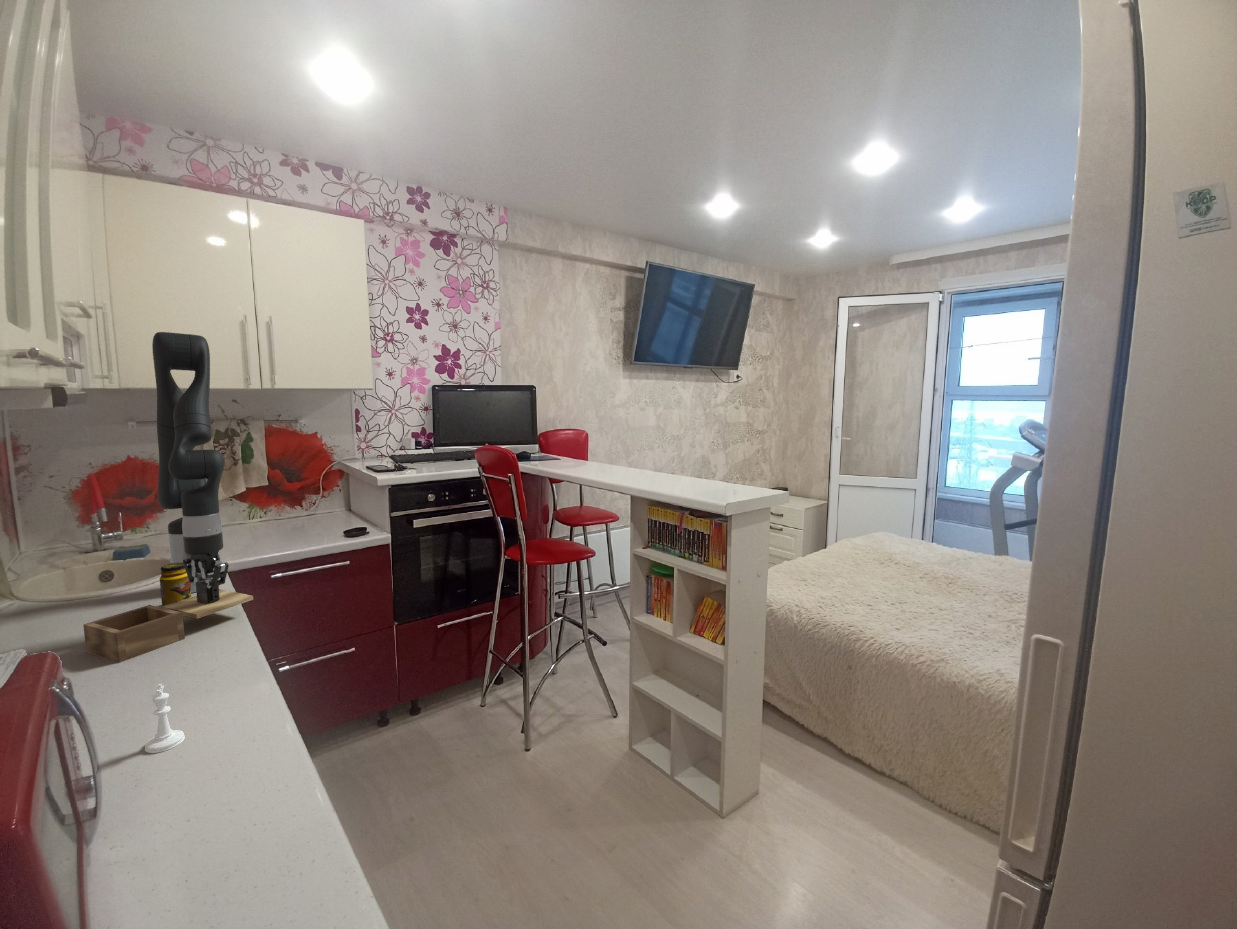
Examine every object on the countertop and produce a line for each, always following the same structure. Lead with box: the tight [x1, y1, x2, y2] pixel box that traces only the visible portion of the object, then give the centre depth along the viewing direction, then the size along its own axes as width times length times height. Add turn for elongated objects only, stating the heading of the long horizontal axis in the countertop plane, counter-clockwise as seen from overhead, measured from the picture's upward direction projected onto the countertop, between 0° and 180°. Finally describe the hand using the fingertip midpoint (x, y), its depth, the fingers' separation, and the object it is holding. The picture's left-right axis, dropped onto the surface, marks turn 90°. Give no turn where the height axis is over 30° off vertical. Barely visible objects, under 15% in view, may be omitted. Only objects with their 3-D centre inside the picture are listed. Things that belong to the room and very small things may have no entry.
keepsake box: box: [83, 604, 186, 664], centre depth 117 cm, size 12×12×7 cm
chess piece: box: [144, 683, 186, 754], centre depth 85 cm, size 5×5×10 cm
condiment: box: [159, 562, 192, 607], centre depth 139 cm, size 7×8×12 cm
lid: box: [161, 579, 254, 619], centre depth 130 cm, size 13×13×7 cm
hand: (208, 600), depth 131 cm, fingers closed on lid, 3 cm apart
